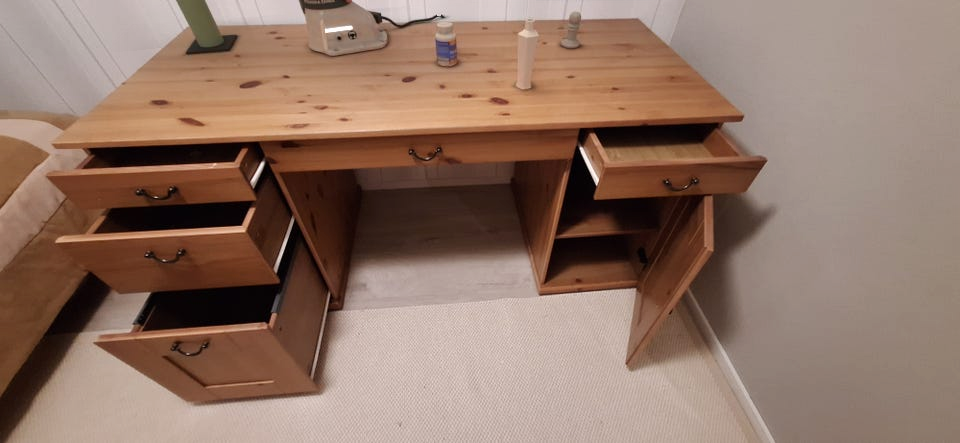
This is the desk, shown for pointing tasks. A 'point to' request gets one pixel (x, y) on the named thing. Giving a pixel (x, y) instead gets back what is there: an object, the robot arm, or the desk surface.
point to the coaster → (222, 47)
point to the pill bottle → (446, 44)
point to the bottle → (201, 22)
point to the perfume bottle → (526, 54)
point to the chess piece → (572, 31)
